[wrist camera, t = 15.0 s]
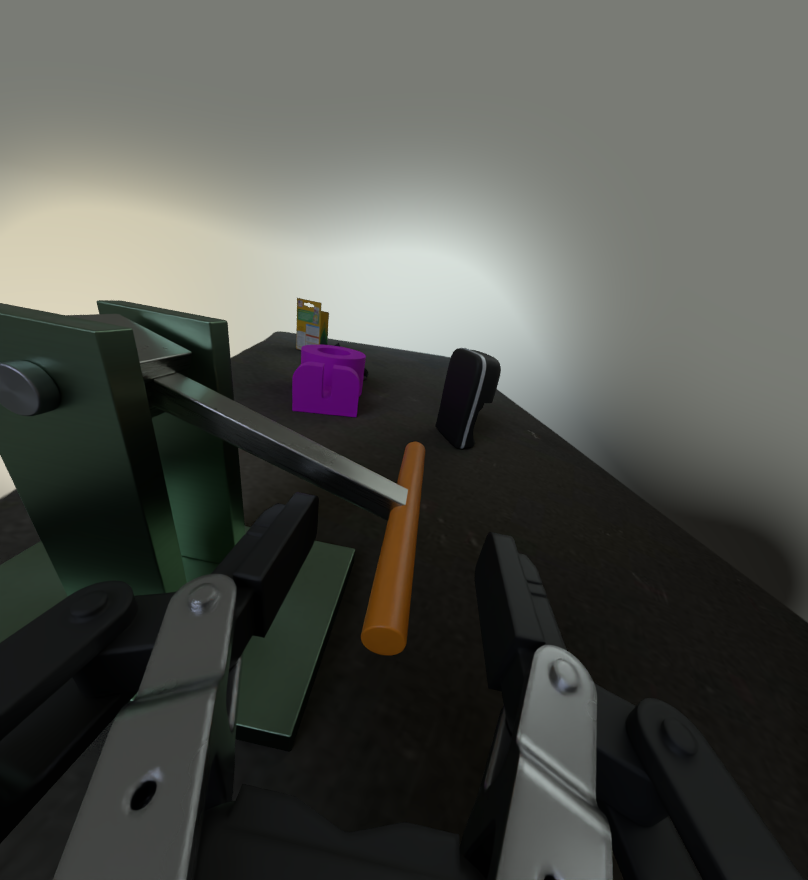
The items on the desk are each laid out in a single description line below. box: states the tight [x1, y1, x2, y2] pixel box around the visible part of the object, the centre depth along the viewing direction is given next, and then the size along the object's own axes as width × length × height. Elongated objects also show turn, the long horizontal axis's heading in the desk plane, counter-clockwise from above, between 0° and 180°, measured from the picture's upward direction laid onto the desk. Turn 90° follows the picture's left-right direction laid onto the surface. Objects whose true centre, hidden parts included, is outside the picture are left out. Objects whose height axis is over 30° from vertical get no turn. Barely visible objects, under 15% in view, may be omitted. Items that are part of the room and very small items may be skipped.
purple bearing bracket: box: [293, 345, 366, 417], centre depth 46 cm, size 16×10×6 cm, turn 8°
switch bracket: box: [0, 300, 355, 751], centre depth 12 cm, size 16×9×14 cm, turn 84°
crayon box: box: [296, 298, 329, 350], centre depth 71 cm, size 7×3×12 cm, turn 63°
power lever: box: [66, 314, 425, 655], centre depth 11 cm, size 13×10×2 cm
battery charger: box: [436, 348, 501, 449], centre depth 38 cm, size 7×4×11 cm, turn 18°
